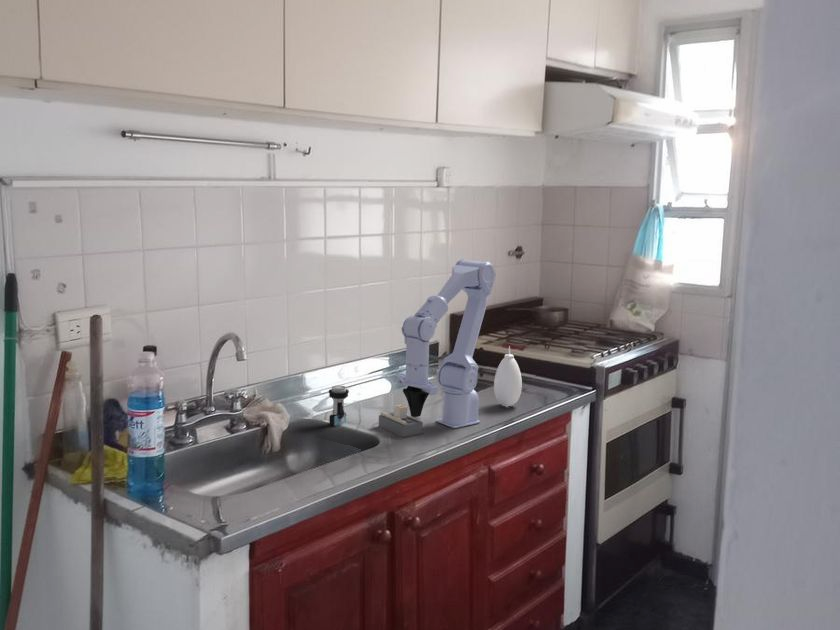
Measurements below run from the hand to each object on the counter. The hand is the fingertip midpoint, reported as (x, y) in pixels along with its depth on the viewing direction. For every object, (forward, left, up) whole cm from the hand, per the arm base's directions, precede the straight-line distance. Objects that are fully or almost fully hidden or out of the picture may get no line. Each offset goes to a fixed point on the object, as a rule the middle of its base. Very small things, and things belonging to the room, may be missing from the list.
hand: (415, 416), depth 206 cm
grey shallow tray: (0, -7, -5) cm, 8 cm away
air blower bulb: (-39, -7, -6) cm, 40 cm away
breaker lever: (0, -7, -2) cm, 7 cm away
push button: (+10, -20, -6) cm, 23 cm away
